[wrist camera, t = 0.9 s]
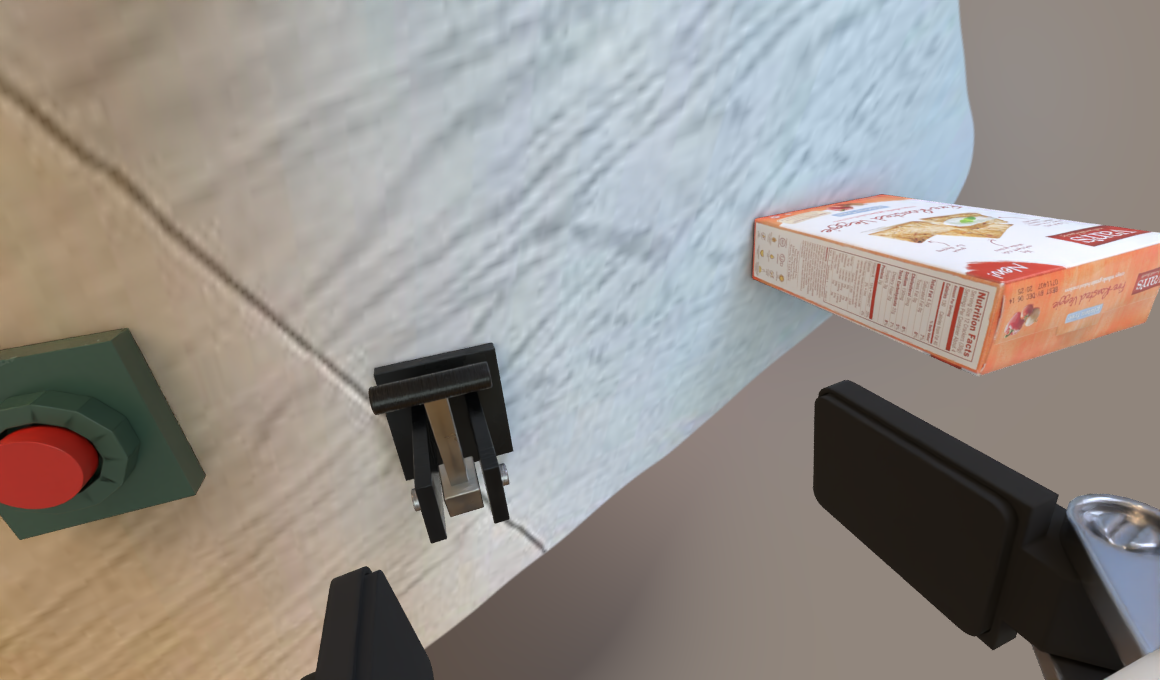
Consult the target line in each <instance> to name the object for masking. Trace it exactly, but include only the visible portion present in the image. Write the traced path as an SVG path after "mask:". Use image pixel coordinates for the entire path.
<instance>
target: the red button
mask: <svg viewBox="0 0 1160 680" xmlns="http://www.w3.org/2000/svg"><path fill="white" fill-rule="evenodd" d="M98 463H99V459H98V454H97V451H96V449H95V448H94V446H93V445H92V444H91V443H90V442H89V441H88V440H87V439H86V438H84V437H83V436H81V435H80V434H78V433H76V432H74V431H71V430H69V429H65V428H62V427H57V426H49V425H38V426H29V427H25V428H21V429H18V430H16V431H13V432H12V433H10V434H8V435H7V436H5V437H4V438H3V439H2V440H0V503H3V504H6V505H9V506H12V507H17V508H24V509H43V508H49V507H54V506H57V505H60V504H62V503H65V502H67V501H69V500H70V499H72V498H73V497H74V496H75V495H76V494H77V493H78V492H79V491H80V490H81V489H82V488H83V487H84V485H85V484H86V483H87V482H88V481H89V480H90V478H91V477H92V476H93V475H94V474H95V472H96V470H97V468H98Z"/></svg>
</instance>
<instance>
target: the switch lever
mask: <svg viewBox="0 0 1160 680" xmlns="http://www.w3.org/2000/svg"><path fill="white" fill-rule="evenodd" d="M491 387H492V381H491V376H490V371H489V367H488V364H487V362H481V363H476V364H472V365H467V366H463V367H459V368H454V369H450V370H445V371H441V372H436V373H432V374H427V375H423V376H419V377H414V378H410V379H405V380H401V381H396V382H392V383H388V384H383V385H379V386H374V387H370V388H369V399H370V404H371V408H372V410H373V413H374V414H375V415H379V414H383V413H387V412H392V411H396V410H400V409H404V408H408V407H413V406H417V405H421V404H424V405H425V409H426V412H427V415H428V418H429V421H430V424H431V427H432V430H433V433H434V436H435V439H436V442H437V445H438V448H439V451H440V454H441V457H442V460H443V463H444V464H441V465H438V468H439V474H440V480H441V486H442V492H443V497H444V501H445V504H446V506H447V509H448V512H449V515H450V517H453V516H456V515H459V514H463V513H466V512H469V511H473V510H476V509H479V508H483V507H484V504H483V500H482V495H481V491H480V486H479V482H478V478H477V473H476V469H475V464H474V460H473V457H472V456H471V457H467V458H463V454H462V450H461V447H460V443H459V439H458V435H457V431H456V427H455V423H454V420H453V416H452V412H451V408H450V404H449V400H448V398H450V397H454V396H458V395H463V394H467V393H471V392H475V391H479V390H483V389H488V388H491Z"/></svg>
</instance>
